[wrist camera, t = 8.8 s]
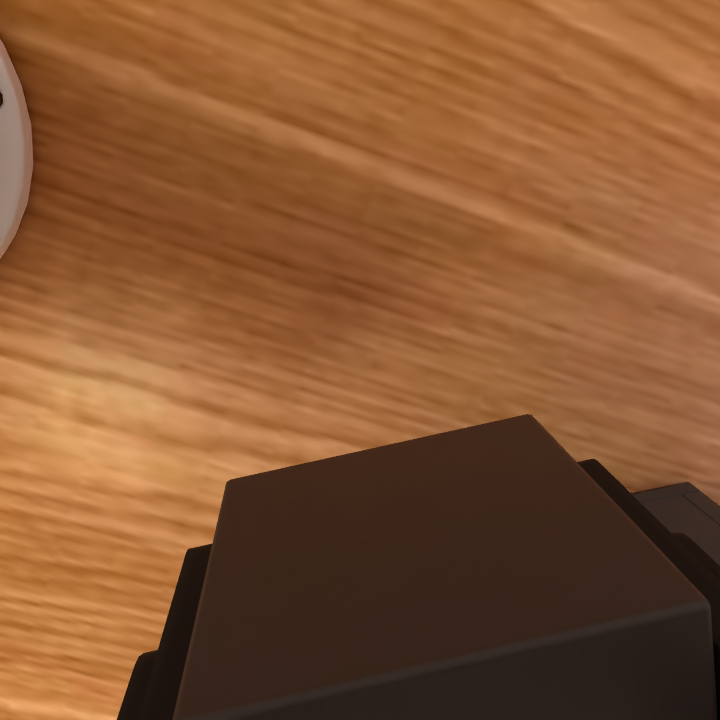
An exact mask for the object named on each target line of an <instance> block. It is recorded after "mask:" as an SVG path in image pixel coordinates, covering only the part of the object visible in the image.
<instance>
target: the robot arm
mask: <svg viewBox="0 0 720 720" xmlns="http://www.w3.org/2000/svg"><path fill="white" fill-rule="evenodd" d="M0 92H1V94H2V95H3V104H2V106H1V107H0V259H1V257H2V256H3V254H4V253H5V251H6V250H7V248H8V246H9V245H10V243H11V242H12V240H13V239H14V237H15V236H16V233H17V230H18V228H19V225H20V222H21V220H22V217H23V214H24V211H25V209H26V206H27V203H28V199H29V192H30V185H31V178H32V172H33V146H32V126H31V122H30V118H29V113H28V109H27V105H26V101H25V97H24V93H23V89H22V85H21V83H20V80H19V78H18V76H17V73H16V71H15V69H14V66H13V64H12V62H11V60H10V57H9V55H8V53H7V50H6V48H5V46H4V44H3V42H2V41H1V39H0ZM577 463H578V464H579V465H580V466H581V467H582V468H583V469H584V470H585V472H586V473H587V474H588V475H589V476H590V477H591V478H592V479H593V480H594V481H595V482H596V483H597V484H598V485H599V486H600V487H601V488H602V489H603V490H604V492H605V493H606V494H607V495H608V496H609V497H610V498H611V499H612V500H613V501H614V502H615V503H616V504H617V505H618V506H619V507H620V508H621V509H622V510H623V511H624V513H625V514H626V515H627V516H628V517H629V518H630V519H631V520H632V521H633V522H634V523H635V524H636V525H637V526H638V527H639V528H640V529H641V530H642V531H643V533H644V534H645V535H646V536H647V537H648V538H649V539H650V540H651V541H652V542H653V543H654V544H655V545H656V546H657V547H658V548H659V549H660V550H661V551H662V552H663V554H664V555H665V556H666V557H667V558H668V559H669V560H670V561H671V562H672V563H673V564H674V565H675V566H676V567H677V568H678V569H679V570H680V571H681V572H682V574H683V575H684V576H685V577H686V578H687V579H688V580H689V581H690V582H691V583H692V584H693V585H694V586H695V587H696V588H697V589H698V590H699V591H700V592H701V593H702V595H703V596H704V597H705V598H706V599H707V601H708V602H709V604H710V608H711V619H712V636H713V653H714V671H715V688H716V705H717V720H720V566H719V565H718V564H717V563H716V562H715V561H714V560H713V559H712V558H711V557H710V556H709V555H708V554H707V553H706V552H704V551H703V550H702V549H701V548H700V547H699V546H698V545H697V544H696V543H695V542H694V541H693V540H692V539H691V538H689V537H688V536H686V535H685V534H684V533H679V532H675V533H671V532H670V531H669V530H668V529H667V528H666V527H665V526H664V525H663V524H662V523H661V522H660V521H659V520H658V519H657V518H656V517H655V516H653V515H652V514H651V513H650V512H649V511H648V510H647V509H646V508H645V507H644V506H643V505H642V504H641V503H640V502H639V501H638V500H637V499H636V498H635V497H634V496H633V495H632V494H631V493H630V492H629V491H628V490H627V489H626V488H625V487H624V486H623V485H622V484H621V483H620V482H619V481H618V480H617V479H616V478H615V477H614V476H613V475H611V474H610V473H609V472H608V471H607V470H606V469H605V468H604V467H603V466H602V465H601V464H600V463H599V462H598V461H597V460H595V459H590V460H585V461H581V462H577ZM211 548H212V544H209V545H204V546H200V547H195V548H191V549H188V550H187V552H186V555H185V559H184V562H183V566H182V569H181V572H180V576H179V579H178V583H177V586H176V590H175V593H174V596H173V600H172V603H171V607H170V610H169V614H168V617H167V620H166V624H165V627H164V631H163V634H162V638H161V641H160V645H159V648H158V650H156V651H151V652H147V653H143V654H142V655H141V656H139V657H138V660H137V662H136V664H135V666H134V669H133V672H132V675H131V678H130V681H129V684H128V687H127V690H126V693H125V696H124V700H123V703H122V706H121V709H120V712H119V715H118V718H117V720H173V715H174V711H175V707H176V702H177V698H178V693H179V689H180V685H181V680H182V676H183V671H184V667H185V663H186V658H187V654H188V649H189V645H190V641H191V636H192V632H193V627H194V623H195V619H196V614H197V610H198V605H199V601H200V597H201V592H202V588H203V583H204V579H205V575H206V570H207V566H208V561H209V557H210V553H211Z"/></svg>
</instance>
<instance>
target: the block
mask: <svg viewBox="0 0 720 720" xmlns="http://www.w3.org/2000/svg"><path fill="white" fill-rule="evenodd" d="M173 720H717V705H716V688H715V671H714V653H713V636H712V619H711V608H710V604H709V602H708V601H707V599H706V598H705V597H704V596H703V595H702V593H701V592H700V591H699V590H698V589H697V588H696V587H695V586H694V585H693V584H692V583H691V582H690V581H689V580H688V579H687V578H686V577H685V576H684V575H683V574H682V572H681V571H680V570H679V569H678V568H677V567H676V566H675V565H674V564H673V563H672V562H671V561H670V560H669V559H668V558H667V557H666V556H665V555H664V554H663V552H662V551H661V550H660V549H659V548H658V547H657V546H656V545H655V544H654V543H653V542H652V541H651V540H650V539H649V538H648V537H647V536H646V535H645V534H644V533H643V531H642V530H641V529H640V528H639V527H638V526H637V525H636V524H635V523H634V522H633V521H632V520H631V519H630V518H629V517H628V516H627V515H626V514H625V513H624V511H623V510H622V509H621V508H620V507H619V506H618V505H617V504H616V503H615V502H614V501H613V500H612V499H611V498H610V497H609V496H608V495H607V494H606V493H605V492H604V490H603V489H602V488H601V487H600V486H599V485H598V484H597V483H596V482H595V481H594V480H593V479H592V478H591V477H590V476H589V475H588V474H587V473H586V472H585V470H584V469H583V468H582V467H581V466H580V465H579V464H578V463H577V462H576V461H575V460H574V459H573V458H572V457H571V456H570V455H569V454H568V453H567V452H566V451H565V449H564V448H563V447H562V446H561V445H560V444H559V443H558V442H557V441H556V440H555V439H554V438H553V437H552V436H551V435H550V434H549V433H548V432H547V431H546V429H545V428H544V427H543V426H542V425H541V424H540V423H539V422H538V421H537V420H536V419H535V418H534V417H533V416H532V415H529V414H526V415H521V416H517V417H512V418H508V419H503V420H499V421H494V422H490V423H485V424H481V425H476V426H472V427H467V428H463V429H458V430H454V431H449V432H444V433H440V434H435V435H431V436H426V437H422V438H417V439H413V440H408V441H404V442H399V443H395V444H390V445H386V446H381V447H377V448H372V449H367V450H363V451H358V452H354V453H349V454H345V455H340V456H336V457H331V458H327V459H322V460H318V461H313V462H309V463H304V464H300V465H295V466H290V467H286V468H281V469H277V470H272V471H268V472H263V473H259V474H254V475H250V476H245V477H241V478H236V479H232V480H229V481H228V482H226V487H225V491H224V495H223V500H222V504H221V509H220V513H219V517H218V522H217V526H216V531H215V535H214V539H213V544H212V548H211V553H210V557H209V561H208V566H207V570H206V575H205V579H204V583H203V588H202V592H201V597H200V601H199V605H198V610H197V614H196V619H195V623H194V627H193V632H192V636H191V641H190V645H189V649H188V654H187V658H186V663H185V667H184V671H183V676H182V680H181V685H180V689H179V693H178V698H177V702H176V707H175V711H174V715H173Z"/></svg>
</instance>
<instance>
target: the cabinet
mask: <svg viewBox="0 0 720 720" xmlns="http://www.w3.org/2000/svg"><path fill="white" fill-rule="evenodd" d="M632 495H633V496H634V497H635V498H636V499H637V500H638V501H639V502H640V503H641V504H642V505H643V506H644V507H645V508H646V509H647V510H648V511H649V512H650V513H651V514H652V515H653V516H655V517H656V518H657V519H658V520H659V521H660V522H661V523H662V524H663V525H664V526H665V527H666V528H667V529H668V530H669V531H670V532H671V533H675V532H679V533H684V534H685V535H686V536H688V537H689V538H691V539H692V540H693V541H694V542H695V543H696V544H697V545H698V546H699V547H700V548H701V549H702V550H703V551H704V552H706V553H707V554H708V555H709V556H710V557H711V558H712V559H713V560H714V561H715V562H716V563H717V564H718V565H719V566H720V506H719V505H718V504H716V503H715V502H714V501H712V500H711V499H710V498H709V497H707V496H706V495H705V494H703V493H702V492H701V491H700V490H699V489H697V488H696V487H695V486H693V485H692V484H691V483H690V482H686V483H682V484H677V485H672V486H667V487H663V488H658V489H653V490H648V491H644V492H639V493H634V494H632Z"/></svg>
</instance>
